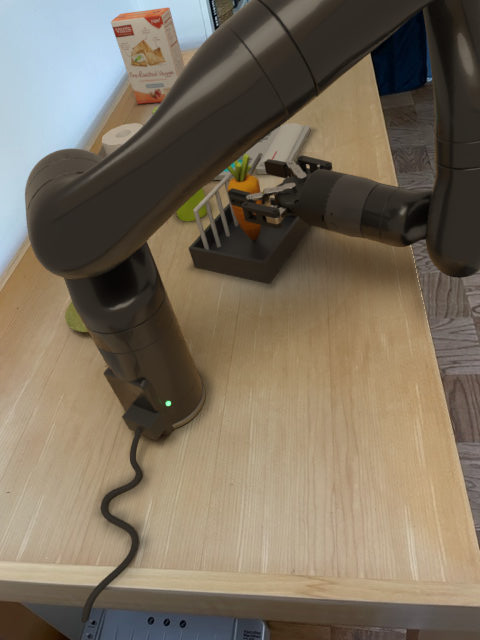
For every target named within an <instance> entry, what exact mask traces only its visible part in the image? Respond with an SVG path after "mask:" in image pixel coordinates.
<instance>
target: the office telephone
mask: <svg viewBox="0 0 480 640" xmlns="http://www.w3.org/2000/svg"><path fill="white" fill-rule="evenodd" d="M311 131H312V130H311V126H310V125H302V124H300V123H296V122H290V123H284V124H282V125H281V126H280V127H278V128H277V129H275V130H274V131H273V132H271V133H270V134H268V135H267V136H266V137H264V138H263V139H262V140H260V141H259V142H258V143H257V144H256V145H254V146H253V147H252V148H251V149H250V150H248V151H247V152H246V153H245V154H246V155H249V156H250V158H249V163H248V166H249V165H251V166H252V167H251V169H250V170H249V172H248V173H247V174H250V175H252V173H253V171H254V169H255V171H256V174H257V175H268V174H267V173H266V170H265V165H264V162H265V161H267V160H268V159H270V160H278V161H282V162H288V161H294V162H295V161H296V159H297V157H298V156H299V153H300V152H301V150H302V148H303V146H304V144H305V143H306V140H307V139H308V137H309V135H310V133H311ZM245 154H244V155H245ZM244 155H242V156H241V157H240V158H239V159H238V163H241V165H242V160H243V157H244ZM231 167H232V168H234V167H235V165H234V163H233V164H231ZM229 172H230V171H229V170H228V169H225V170H224V171H223V172H222V173H220V174H219V175H218V176H216V177H215V178H214V179H213V180H212V181H221V180H222V179H223V178H224V177H225V176H226V175H227V174H228V173H229ZM232 178H234V176H233V175H232V176H231V177H230V178H229V179H228V181H230V180H231V179H232Z"/></svg>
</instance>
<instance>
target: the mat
mask: <svg viewBox="0 0 480 640" xmlns="http://www.w3.org/2000/svg"><path fill="white" fill-rule="evenodd" d="M64 318H65V322H66V325H67V326H68V327H69V328H70V329H72V330H73V331H75V332H80V333H81V332H82V333H89V332H88V330H87V328H86V327H85V325H84V323H83V321H82V320H81V318H80V316H79V314H78V313H77V311H76V309H75V307H74V305H73V302H72V301H71V302H70V303H69V305H68V306H67V307H66V310H65V314H64Z"/></svg>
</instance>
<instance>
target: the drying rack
mask: <svg viewBox="0 0 480 640" xmlns="http://www.w3.org/2000/svg"><path fill="white" fill-rule="evenodd" d="M233 169H234V171H235V170H236V169H235V167H234V168H233ZM231 176H232V174H231V173H230V172H229V173H228V174H227V175H226V176H225V177H224V178H223V179H222V180H219V182H218V183H217V184H216V185H215V186H214V187H213V188H212V189H211V190H210V191H209V193H208V194H207V195H205V198H204V199H203V200H202V201H201V202H200V203H199V204H198V205H197V206H196V207H195V208H194V210H193V212H194V215H195V218H196V220H195V222H196V225H197V228H198V231H199V236H198V237H197V238H196V239H195V240H194V241H193V242H192V244H191V245H190V246H189V247H188V252H189V254H190V257H191V260H192V263H193V266H194V268H196V269H200V270H204V271H208V272H213V273H218V274H222V275H228V276H232V277H237V278H240V279H246V280H250V281H254V282H259V283H262V284H263V283H264V284H267V285H270V284H271V283H272V281H273V280H274V279H275V277H276V276H277V274H279V272H280V270H281V269H282V267H283V266H284V265H285V264H286V262H287V261H288V259H289V258H290V257H291V255H292V254H293V252H294V251H295V250H296V248H297V247H298V245H299V244H300V243H301V241H302V240H303V238H304V237H305V236H306V235H307V233H308V232H309V230H310V229H311V227H313V226H312V225H308V224H306V223H305V222H304V221H303V220H302V219H301V218H300V217H298V216H295V215H290V216H287V215H286V216H285V217H284V218H283V219H282V221H281V222H282V227H281V228H278V229H275V228H271V227H267V226H263V225H261V229H260V233H259V236H258V238H257V239H256V240H255V241H254V240H252V239H250V238H249V237H248V236H247V235H246V234H245V232H244V231H243V230H242V228H241V227H240V225H239V223H238V221H237V219H236V217H235V214H234V212H233V209H232V205H231V202H230V199H229V195H228V185H229V180H228V179H229V178H230V177H231ZM223 186H224V189H225V192H226V196H227V199H228V200H227V201H228V204H227V205H226V206H225V207H224V205H223V202H222V197H221V193H220V189H221V188H222V187H223ZM213 196H215V199H216V203H217V207H218V210H219V211H218V212H219V214H218V215H217V216H216V217H215V218H214V215H213V211H212V208H211V207H212V206H211V204H210V199H212V198H213ZM270 202H271V205H273V206H276V205H277V204H276V202H275V197H270ZM264 204H265V203H264V200H262V205H264ZM204 205H205V206H206V210H207V216H208V220H209V223H210V224H209V225H207V227H206V228H205V229H204V226H203V223H202V218H200V216H199V212H198V211H199V210H200V209H201V208H202V207H203V206H204Z"/></svg>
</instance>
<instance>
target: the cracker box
mask: <svg viewBox="0 0 480 640" xmlns="http://www.w3.org/2000/svg"><path fill="white" fill-rule="evenodd" d="M172 16H173V15H172V12H171V8H170V7H162V8H155V9H147V10H138V11H132V12H123V13H120V14H118V15H117V16H116V17H114V18H113V19H112V20H111V21H110V24H111V27H112V30H113V34H114V36H115V39H116V40H115V41H116V42H117V46H118V49H119V50H120V51H119V52H120V55H121V57H122V61H123V64H124V66H125V69H126V72H127V76H128V79H129V82H130V85H131V88H132V91H133V94H134V97H135V100H136V103H137V105H139V104H140V105H143V104H152V103H153V104H156V103H161V102H162V101H163V99H164V98H165V96H166V95H167V93H168V92H169V90H170V89H171V87H172V85H173V84H174V82H175V81H176V79H177V78H178V76H179V75H180V73H181V72H182V70H183V69H184V68H185V66H186V65H185V63H184V58H183V54H182V51H181V47H180V44H179V39H178V35H177V31H176V27H175V23H174V20H173V17H172Z"/></svg>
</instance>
